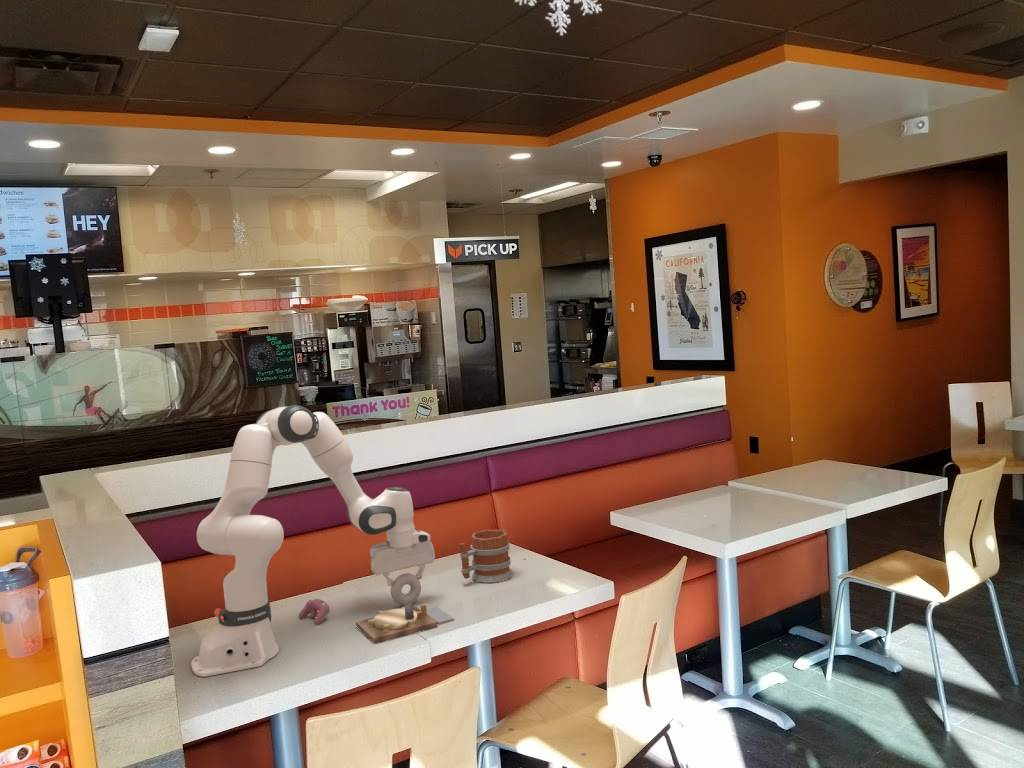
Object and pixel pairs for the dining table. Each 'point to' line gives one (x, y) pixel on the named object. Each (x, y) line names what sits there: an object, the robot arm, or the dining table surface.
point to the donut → (413, 593)
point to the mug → (487, 557)
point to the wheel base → (380, 635)
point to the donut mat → (439, 615)
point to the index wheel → (396, 618)
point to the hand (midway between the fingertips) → (405, 582)
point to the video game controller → (315, 610)
